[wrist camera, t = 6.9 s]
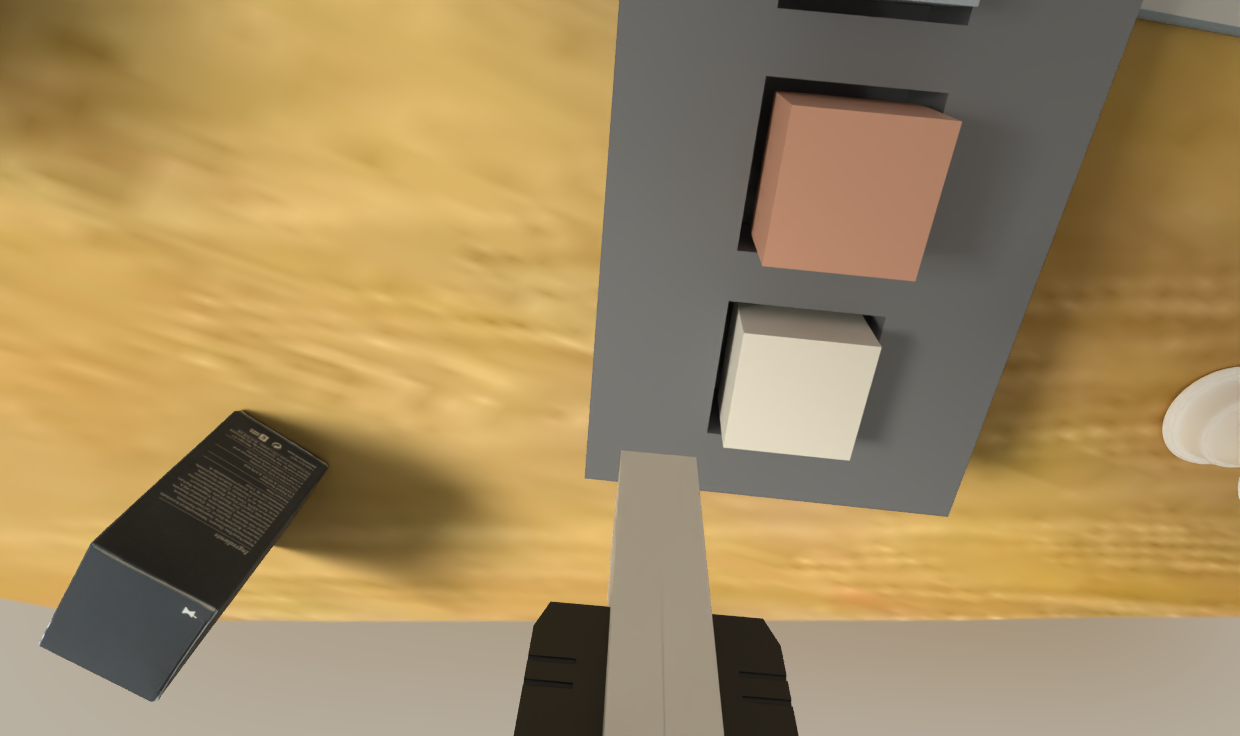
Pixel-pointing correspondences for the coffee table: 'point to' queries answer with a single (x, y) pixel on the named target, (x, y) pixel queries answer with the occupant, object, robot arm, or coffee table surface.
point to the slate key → (937, 2)
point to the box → (181, 556)
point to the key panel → (894, 309)
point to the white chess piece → (1207, 421)
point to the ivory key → (795, 380)
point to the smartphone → (1195, 14)
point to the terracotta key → (850, 184)
